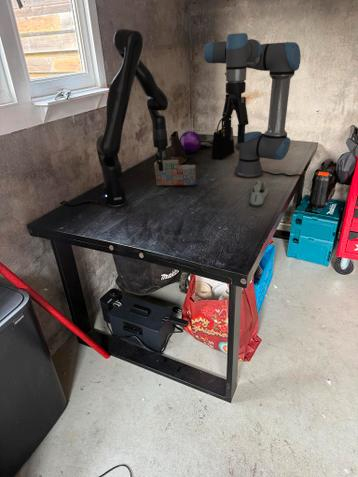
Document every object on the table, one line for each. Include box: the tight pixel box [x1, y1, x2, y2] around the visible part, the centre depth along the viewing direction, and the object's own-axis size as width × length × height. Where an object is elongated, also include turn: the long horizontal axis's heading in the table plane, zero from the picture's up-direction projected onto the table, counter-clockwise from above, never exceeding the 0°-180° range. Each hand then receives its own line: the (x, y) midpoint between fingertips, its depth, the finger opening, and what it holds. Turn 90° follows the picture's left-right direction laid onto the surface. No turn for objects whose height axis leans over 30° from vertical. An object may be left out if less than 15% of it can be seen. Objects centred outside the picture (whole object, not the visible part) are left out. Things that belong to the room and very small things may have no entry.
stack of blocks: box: [153, 159, 197, 186], centre depth 177 cm, size 21×6×12 cm, turn 80°
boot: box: [169, 130, 188, 165], centre depth 211 cm, size 9×24×20 cm, turn 168°
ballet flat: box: [249, 179, 269, 207], centre depth 158 cm, size 8×24×8 cm, turn 163°
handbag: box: [210, 116, 235, 160], centre depth 218 cm, size 21×9×25 cm, turn 148°
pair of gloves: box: [199, 134, 214, 149], centre depth 251 cm, size 30×26×5 cm
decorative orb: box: [179, 130, 202, 154], centre depth 230 cm, size 15×15×15 cm
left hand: (162, 168), depth 177 cm, fingers closed on stack of blocks, 6 cm apart
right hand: (233, 139), depth 134 cm, fingers open, 13 cm apart
